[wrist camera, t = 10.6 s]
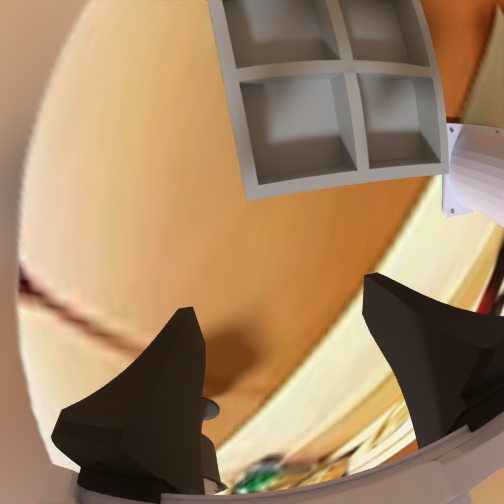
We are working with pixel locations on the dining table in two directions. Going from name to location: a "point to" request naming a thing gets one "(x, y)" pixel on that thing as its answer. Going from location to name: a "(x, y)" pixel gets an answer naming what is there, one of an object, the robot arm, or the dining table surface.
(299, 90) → the grey compartment tray
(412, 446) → the dining table surface
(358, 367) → the dining table surface
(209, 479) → the sundae
